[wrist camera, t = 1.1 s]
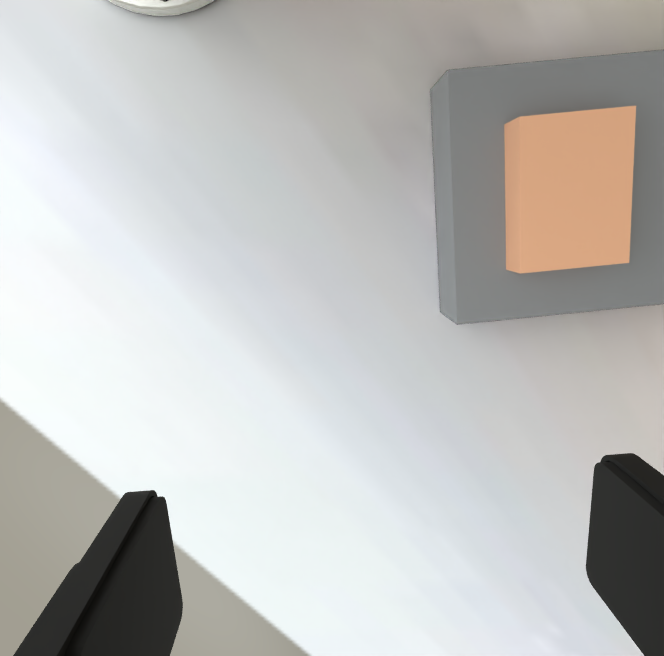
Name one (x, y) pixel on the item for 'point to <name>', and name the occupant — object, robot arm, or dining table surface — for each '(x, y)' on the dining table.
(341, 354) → the dining table surface
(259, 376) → the dining table surface
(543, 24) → the dining table surface
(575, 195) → the tile
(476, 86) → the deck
